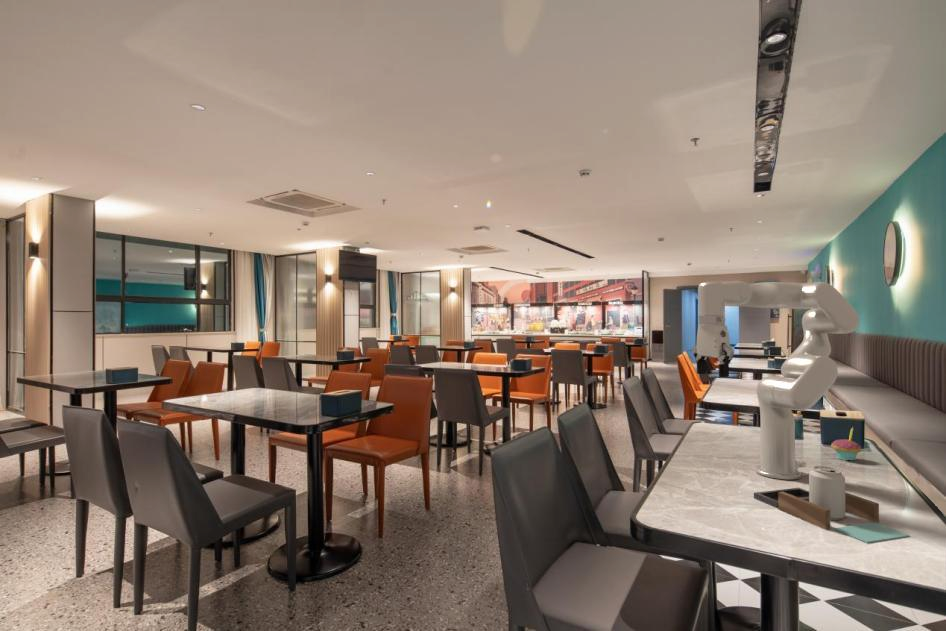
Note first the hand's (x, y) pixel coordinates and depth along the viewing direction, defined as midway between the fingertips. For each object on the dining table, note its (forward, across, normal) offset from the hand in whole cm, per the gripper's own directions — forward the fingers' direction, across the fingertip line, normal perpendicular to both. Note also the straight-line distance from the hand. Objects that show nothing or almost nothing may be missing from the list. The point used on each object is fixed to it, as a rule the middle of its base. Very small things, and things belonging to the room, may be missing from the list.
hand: (712, 375), depth 155 cm
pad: (+33, -43, -7) cm, 54 cm away
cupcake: (+33, +7, -61) cm, 70 cm away
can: (+33, -32, -7) cm, 46 cm away
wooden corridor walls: (+33, -32, -7) cm, 46 cm away
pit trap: (+33, -21, -7) cm, 39 cm away
